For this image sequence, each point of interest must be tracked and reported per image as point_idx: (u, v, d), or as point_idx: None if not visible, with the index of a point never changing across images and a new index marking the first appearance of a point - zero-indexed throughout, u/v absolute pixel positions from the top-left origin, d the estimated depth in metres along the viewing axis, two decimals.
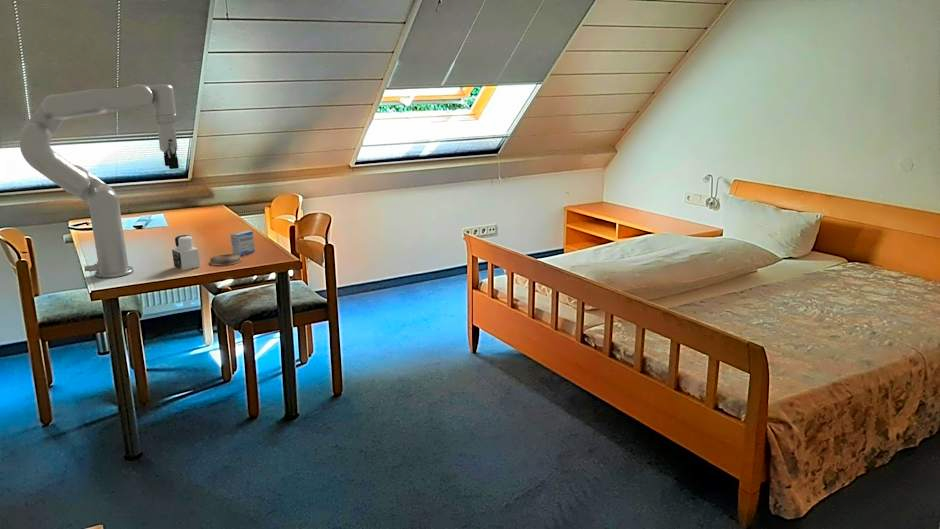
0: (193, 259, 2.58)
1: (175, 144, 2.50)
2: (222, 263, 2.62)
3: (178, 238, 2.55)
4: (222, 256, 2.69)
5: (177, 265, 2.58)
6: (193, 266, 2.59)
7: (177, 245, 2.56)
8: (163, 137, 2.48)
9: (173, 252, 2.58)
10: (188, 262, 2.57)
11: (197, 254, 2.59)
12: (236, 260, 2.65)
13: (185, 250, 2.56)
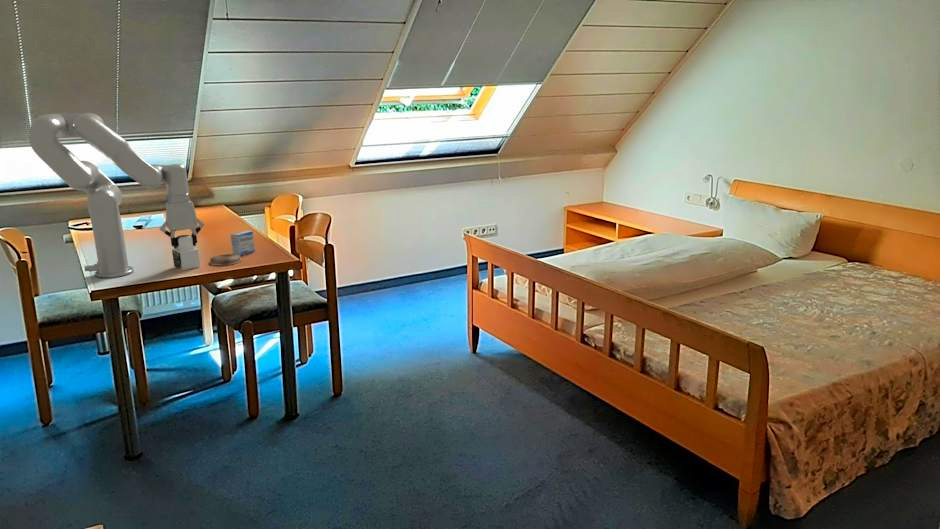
0: (193, 259, 2.58)
1: None
2: (222, 263, 2.62)
3: (178, 238, 2.55)
4: (222, 256, 2.69)
5: (177, 265, 2.58)
6: (193, 266, 2.59)
7: (177, 245, 2.56)
8: (195, 213, 2.56)
9: (173, 252, 2.58)
10: (188, 262, 2.57)
11: (197, 254, 2.59)
12: (236, 260, 2.65)
13: (185, 250, 2.56)
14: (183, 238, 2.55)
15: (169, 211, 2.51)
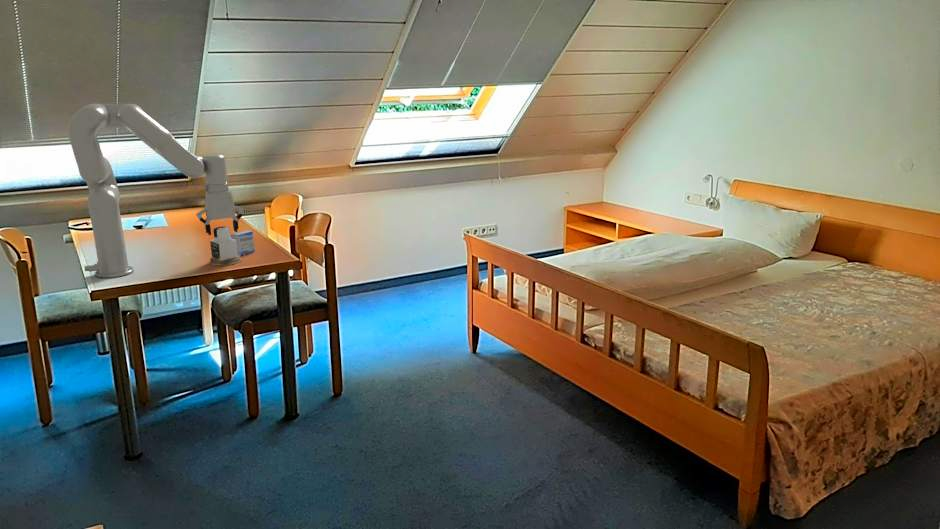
0: (231, 250, 2.64)
1: None
2: (222, 263, 2.62)
3: (217, 229, 2.62)
4: None
5: (216, 256, 2.64)
6: (231, 257, 2.65)
7: (215, 236, 2.62)
8: (233, 203, 2.62)
9: (211, 243, 2.65)
10: (226, 252, 2.63)
11: (235, 245, 2.65)
12: (236, 260, 2.65)
13: (223, 241, 2.62)
14: (221, 229, 2.62)
15: (209, 200, 2.57)
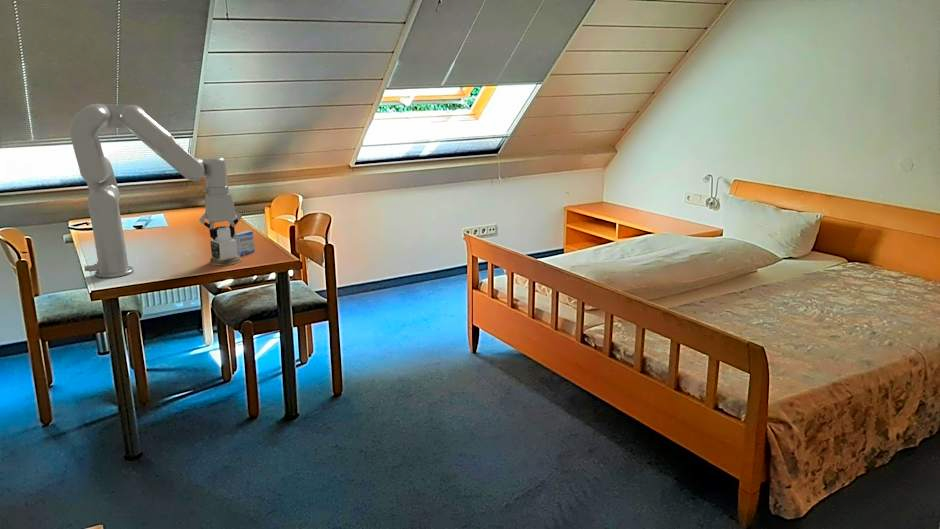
0: (231, 250, 2.64)
1: None
2: (222, 263, 2.62)
3: (217, 229, 2.62)
4: None
5: (216, 256, 2.64)
6: (231, 257, 2.65)
7: (216, 236, 2.62)
8: (233, 205, 2.62)
9: (211, 243, 2.65)
10: (226, 252, 2.63)
11: (235, 245, 2.65)
12: (236, 260, 2.65)
13: (223, 241, 2.62)
14: (222, 229, 2.62)
15: (209, 203, 2.57)
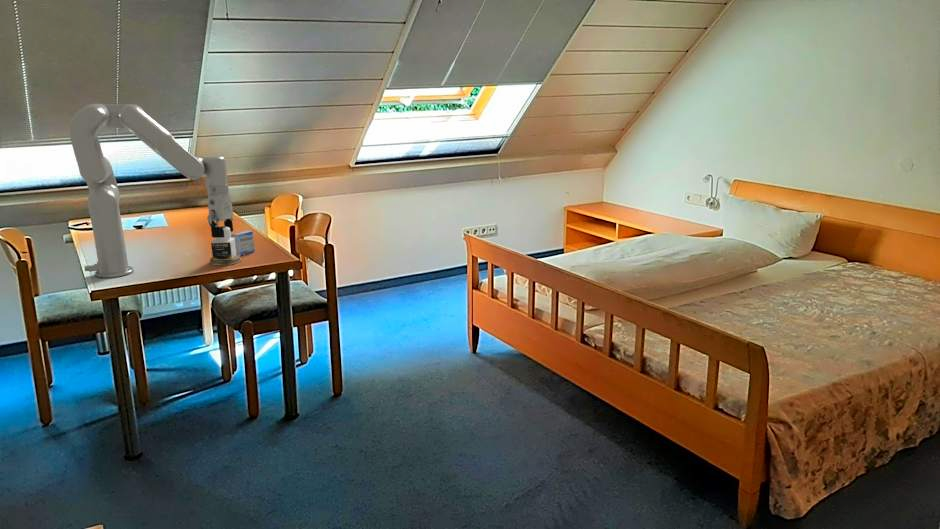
0: (234, 248, 2.68)
1: None
2: (222, 263, 2.62)
3: (222, 229, 2.62)
4: None
5: (223, 256, 2.63)
6: (234, 255, 2.68)
7: (222, 236, 2.62)
8: None
9: (214, 245, 2.62)
10: (233, 251, 2.66)
11: (234, 243, 2.69)
12: (236, 260, 2.65)
13: (230, 240, 2.64)
14: (227, 228, 2.63)
15: (219, 202, 2.57)
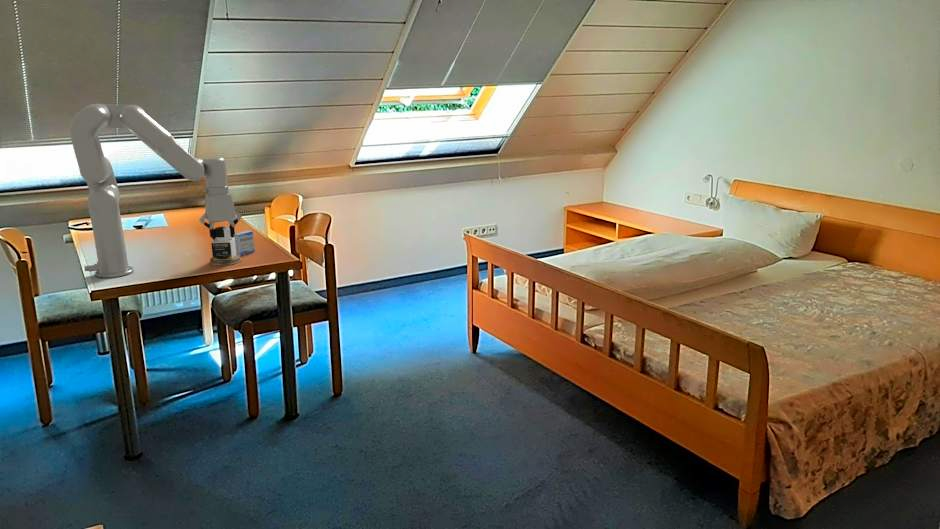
0: (234, 248, 2.68)
1: None
2: (222, 263, 2.62)
3: (222, 229, 2.62)
4: None
5: (223, 256, 2.63)
6: (234, 255, 2.68)
7: (222, 236, 2.62)
8: (233, 205, 2.62)
9: (214, 245, 2.62)
10: (233, 251, 2.66)
11: None
12: (236, 260, 2.65)
13: (230, 240, 2.64)
14: (227, 228, 2.63)
15: (209, 203, 2.57)
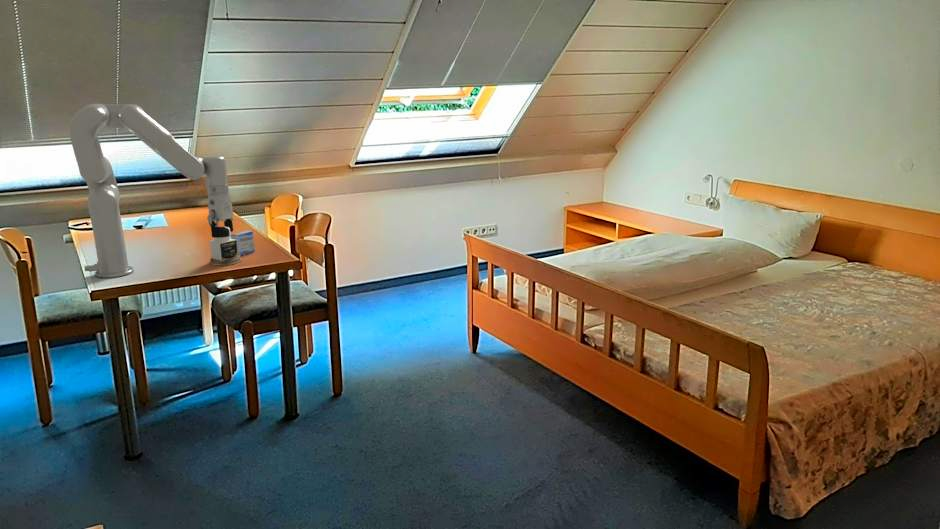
0: None
1: None
2: (222, 263, 2.62)
3: (227, 228, 2.63)
4: None
5: (231, 255, 2.65)
6: None
7: (228, 235, 2.63)
8: None
9: (223, 245, 2.62)
10: None
11: None
12: (236, 260, 2.65)
13: None
14: (228, 227, 2.65)
15: (219, 202, 2.57)
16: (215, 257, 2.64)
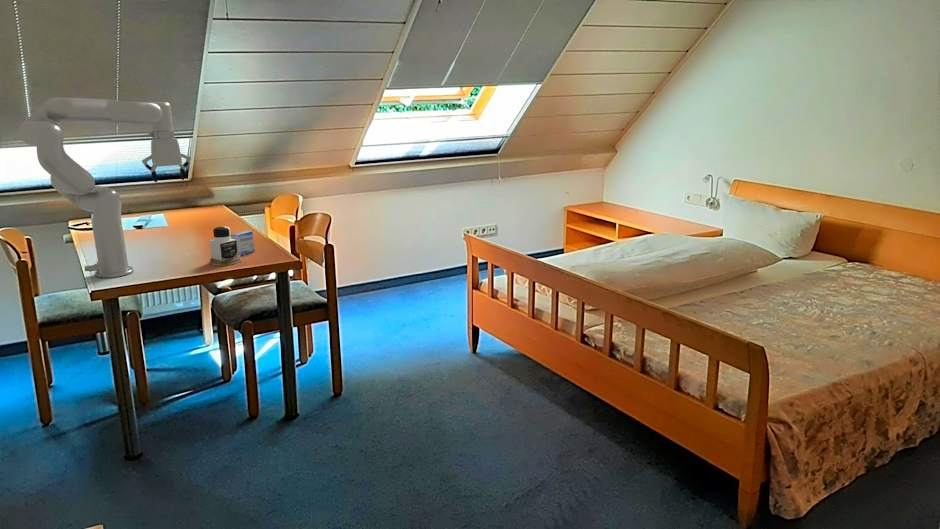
0: None
1: None
2: (222, 263, 2.62)
3: (227, 228, 2.63)
4: None
5: (231, 255, 2.65)
6: None
7: (228, 235, 2.63)
8: (179, 150, 2.65)
9: (223, 245, 2.62)
10: None
11: None
12: (236, 260, 2.65)
13: None
14: (228, 227, 2.65)
15: (154, 147, 2.60)
16: (215, 257, 2.64)
